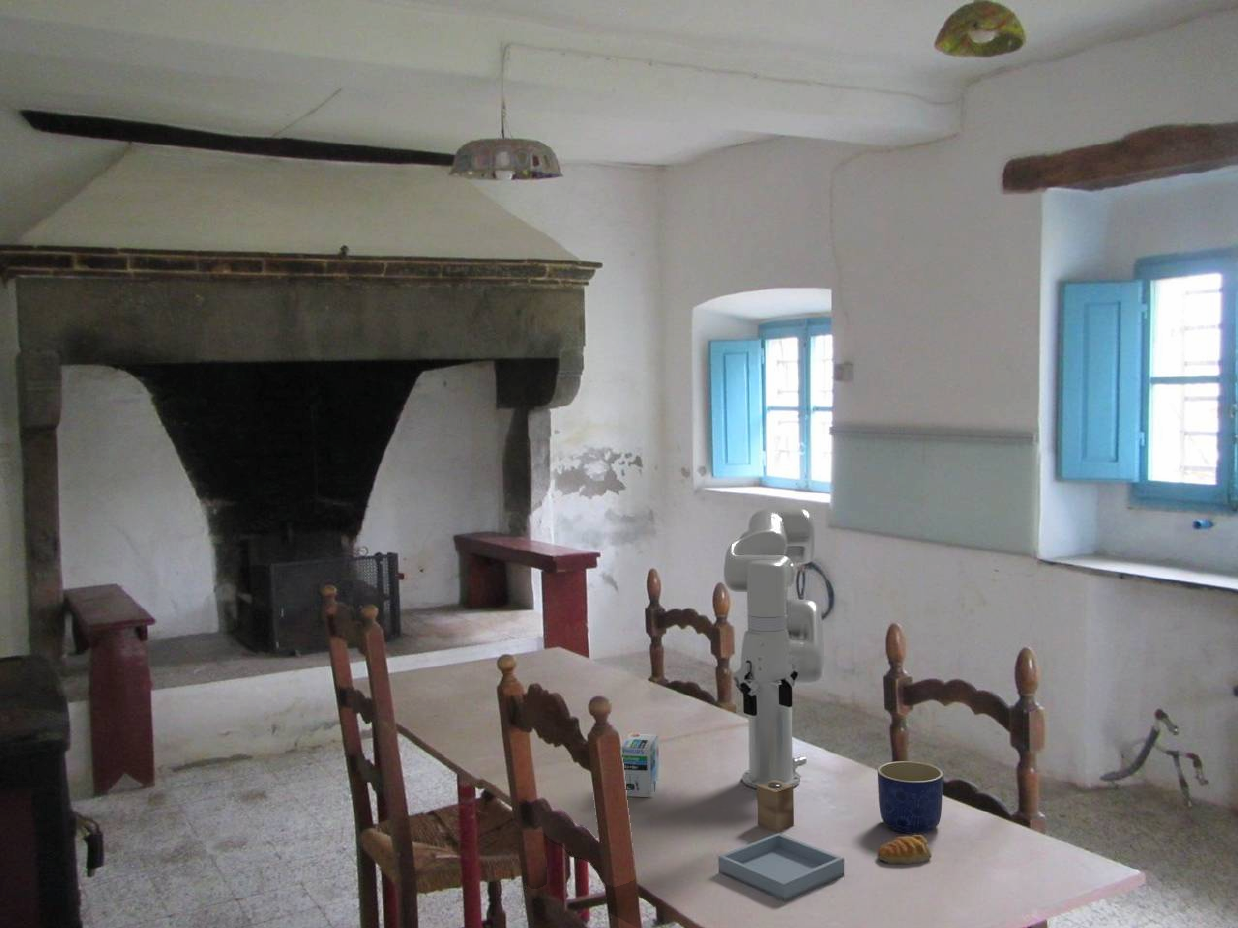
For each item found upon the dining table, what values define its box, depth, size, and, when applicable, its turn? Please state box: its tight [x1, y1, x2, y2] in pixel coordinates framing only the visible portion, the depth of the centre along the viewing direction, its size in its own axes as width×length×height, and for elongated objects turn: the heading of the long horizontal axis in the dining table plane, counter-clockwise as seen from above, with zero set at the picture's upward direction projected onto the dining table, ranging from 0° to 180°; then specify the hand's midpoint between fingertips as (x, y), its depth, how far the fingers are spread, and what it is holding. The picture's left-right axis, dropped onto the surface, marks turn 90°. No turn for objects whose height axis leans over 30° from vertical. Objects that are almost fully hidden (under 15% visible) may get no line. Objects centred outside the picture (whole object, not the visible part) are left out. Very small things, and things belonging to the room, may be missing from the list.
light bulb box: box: [620, 732, 660, 798], centre depth 242 cm, size 11×7×11 cm, turn 168°
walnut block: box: [756, 780, 795, 833], centre depth 219 cm, size 5×5×8 cm
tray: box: [717, 832, 845, 903], centre depth 197 cm, size 16×16×3 cm
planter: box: [877, 760, 944, 834], centre depth 217 cm, size 12×12×11 cm
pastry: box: [877, 833, 933, 865], centre depth 203 cm, size 9×7×4 cm
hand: (768, 709), depth 219 cm, fingers open, 9 cm apart
